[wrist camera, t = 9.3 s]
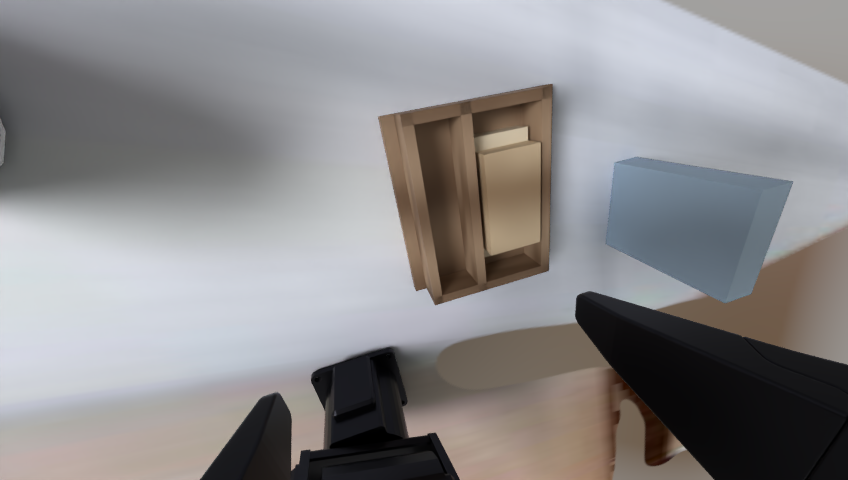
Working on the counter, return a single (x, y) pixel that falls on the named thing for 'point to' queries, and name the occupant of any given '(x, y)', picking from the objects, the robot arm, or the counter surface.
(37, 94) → the counter surface
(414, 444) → the robot arm
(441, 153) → the rack
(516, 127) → the offcut lower
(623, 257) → the counter surface
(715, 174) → the board
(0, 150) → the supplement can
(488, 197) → the offcut upper
